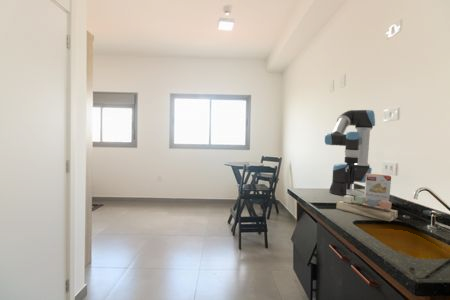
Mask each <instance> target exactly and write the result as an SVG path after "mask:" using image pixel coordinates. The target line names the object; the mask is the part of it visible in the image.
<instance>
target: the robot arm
mask: <svg viewBox="0 0 450 300" xmlns="http://www.w3.org/2000/svg"><path fill="white" fill-rule="evenodd" d="M349 126H355V128H354V129H356V131H346V130H347V128H348V127H349ZM375 126H376V115H375V112H374V110H372V109H355V110H354V109H351V110H347V111H345V112H343V113H341V114H340V115H339V116H338V117H337V119H336V124H335V125H334V127H333V129H332V131H331V133H326V134H325V135H324V143H325V145H326V146H340V147H342V146H344V147H345V150H344V156H345V157H344V163H336V164H333V168H332V181H331V184H330V187H329V189H328V190H329V191H328V193H330V194H332V195H338V196H346V195H349V196H352V195H353V185H355V183H356V182H357V183H363V184H365V181H366V173H367V174H372V171H373V169H372V167H371V165H370V163H369V149H370V148H369V147H370V135H371V134H370V133H371V130H373V127H375ZM345 132H346V134H345Z"/></svg>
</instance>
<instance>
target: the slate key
mask: <svg viewBox="0 0 450 300" xmlns="http://www.w3.org/2000/svg"><path fill="white" fill-rule="evenodd" d="M367 205H369V206H371V207H370V208H371V209H374V207H375V206H378V199H373V198H369V199H367Z"/></svg>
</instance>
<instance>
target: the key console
mask: <svg viewBox="0 0 450 300" xmlns="http://www.w3.org/2000/svg"><path fill="white" fill-rule="evenodd" d="M370 207H371V206H369V205H367V204H362V206H358V203H355V200H354V202H353V203H350V204H348V203H347V202H343V200H339V201H336V208H335V209H336V210H341V211H345V212H349V213H352V214H357V215H361V216H365V217H370V218H374V219H378V220H382V221H385V222H391V221H393V220H395V219H397V218H398V214H399V211H398V210H397V209H392V208H391V209H389V210H388V209H387V212H384V211H383V210H384V209H383V208H380V207H378V206H375V207H374V209H371V208H370Z"/></svg>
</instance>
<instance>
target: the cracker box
mask: <svg viewBox="0 0 450 300" xmlns="http://www.w3.org/2000/svg"><path fill="white" fill-rule="evenodd" d="M391 182H392V176H390V175H389V174H377V173H371V174H367V173H366V181H365V183H364V195H363V197H366V201H365V203H364V204H367V199H369V198H373V199H378V207H380V201H383V200H384V201H389V202H390V197H391V196H390V194H391V187H392V186H391V184H392V183H391Z"/></svg>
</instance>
